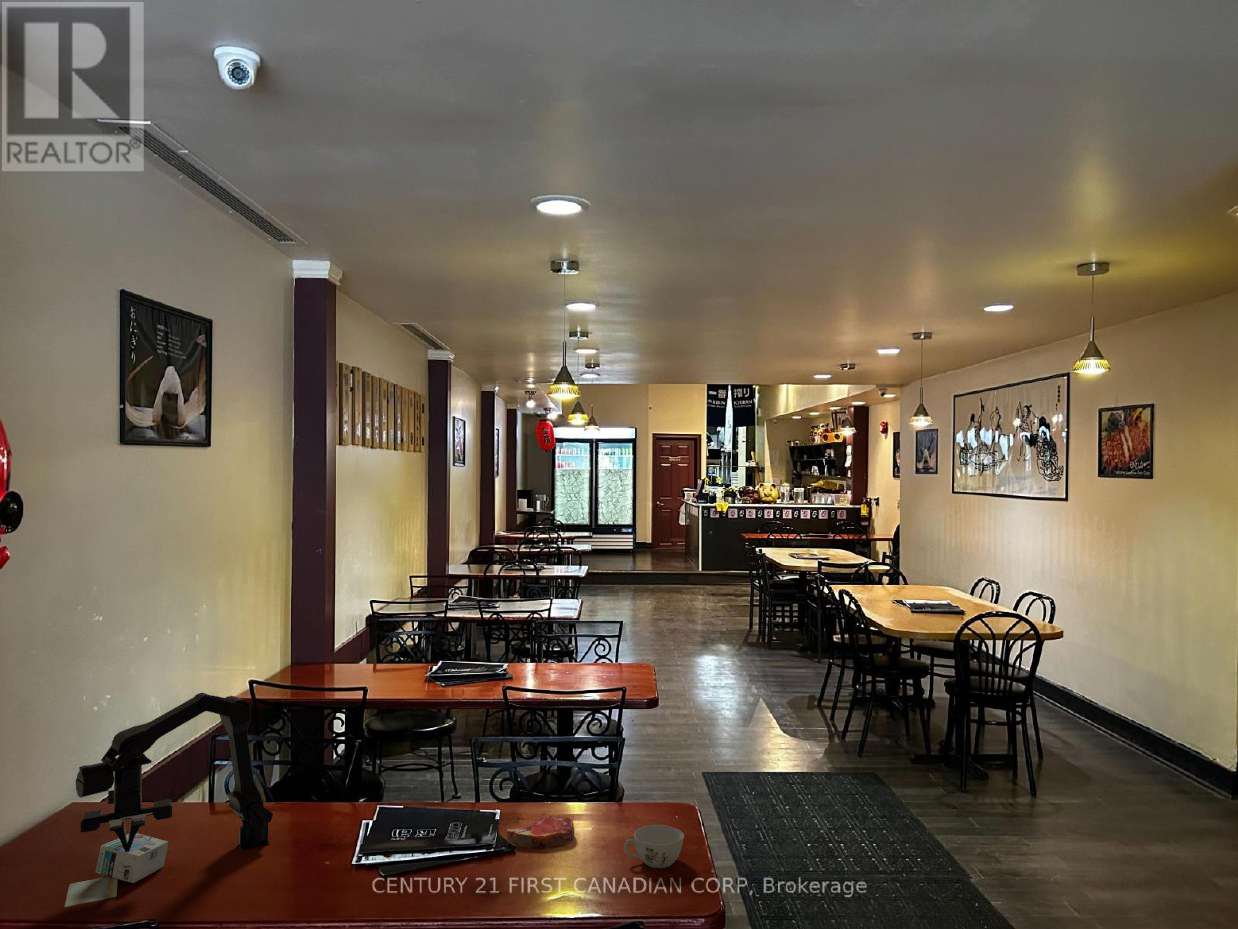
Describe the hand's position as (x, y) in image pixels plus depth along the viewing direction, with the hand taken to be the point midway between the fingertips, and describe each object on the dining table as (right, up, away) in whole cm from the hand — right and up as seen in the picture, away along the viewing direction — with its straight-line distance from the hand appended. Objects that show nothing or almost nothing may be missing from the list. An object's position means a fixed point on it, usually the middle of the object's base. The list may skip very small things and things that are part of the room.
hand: (127, 851), depth 202 cm
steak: (+97, -10, +24) cm, 100 cm away
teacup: (+126, -9, +11) cm, 127 cm away
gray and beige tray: (-6, -8, -3) cm, 11 cm away
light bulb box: (+4, -5, +4) cm, 7 cm away
